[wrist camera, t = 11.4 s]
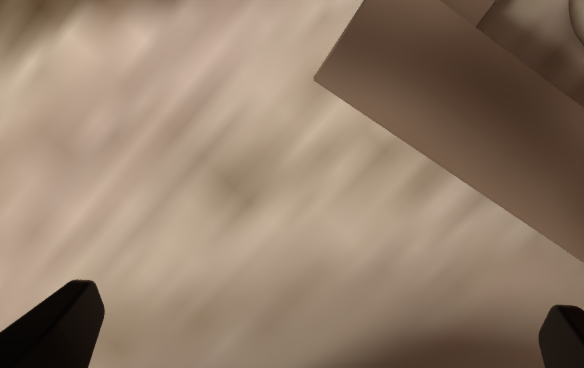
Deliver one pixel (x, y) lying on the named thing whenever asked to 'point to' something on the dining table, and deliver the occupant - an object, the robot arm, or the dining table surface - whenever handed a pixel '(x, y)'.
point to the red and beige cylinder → (577, 17)
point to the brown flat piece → (467, 107)
